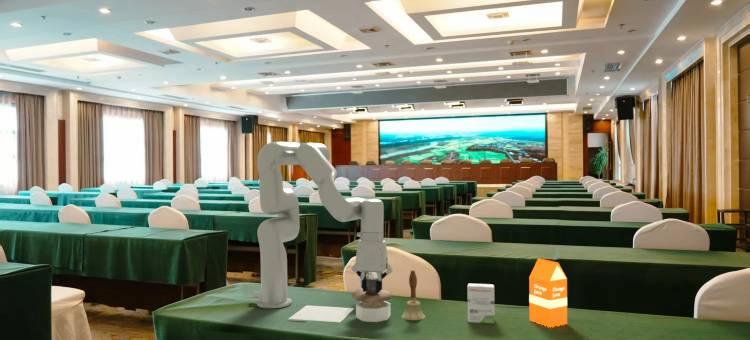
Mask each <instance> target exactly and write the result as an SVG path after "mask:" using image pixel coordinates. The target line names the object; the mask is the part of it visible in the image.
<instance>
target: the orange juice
mask: <svg viewBox="0 0 750 340" xmlns="http://www.w3.org/2000/svg"><path fill="white" fill-rule="evenodd" d="M528 279H529V286H528V287H529V294H528V295H529V296H528V297H529V298H528V303H529V321H530V322H533V323H535V322H536V323H535V324H538V325H540V324H541V325H540V326H543V325H544V326H543V327H546V326H547V327H546V328H549V327H550V328H549V329H552V328H556V327H555V326H557V327H561V326H565V324H566V325H568V277H567V276H566V274H565V272H564V271H563V269H562V267H561V265H560V263H559V262H557V261H552V260H548V259H543V258H539V257H538V258H537V260H536V261H535V265H534V267H533V269H532V271H531V273H530V275H529V277H528ZM560 325H561V326H560ZM551 327H552V328H551Z"/></svg>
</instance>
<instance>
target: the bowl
mask: <svg viewBox="0 0 750 340" xmlns="http://www.w3.org/2000/svg"><path fill="white" fill-rule="evenodd" d="M371 306H376V307H377V308H370V307H371ZM391 315H392V314H391V302H388V300H387V301H382V302H362V301H358V302H357V303H356V304H355V318H356V319H358V320H360V321H362V322H369V323H372V322H373V323H379V322H383V321H388V320H389V319H390V317H391Z"/></svg>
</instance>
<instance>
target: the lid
mask: <svg viewBox="0 0 750 340" xmlns="http://www.w3.org/2000/svg"><path fill="white" fill-rule="evenodd" d="M377 280H378V277H377V278H373V277H371V278H366V291H365V292H363V289H362V290H360V289H357V290H355V291H353V292H352V294H351V295H352V296H351V297H352V299H353V300H355V301H358V302H359V301H362V302H382V301H387V302H388V301H389V300H391V299H392V292H391V291H388V290H386V289H382V290H381V291H380V292H379V293H377V292H376V282H377Z"/></svg>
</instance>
